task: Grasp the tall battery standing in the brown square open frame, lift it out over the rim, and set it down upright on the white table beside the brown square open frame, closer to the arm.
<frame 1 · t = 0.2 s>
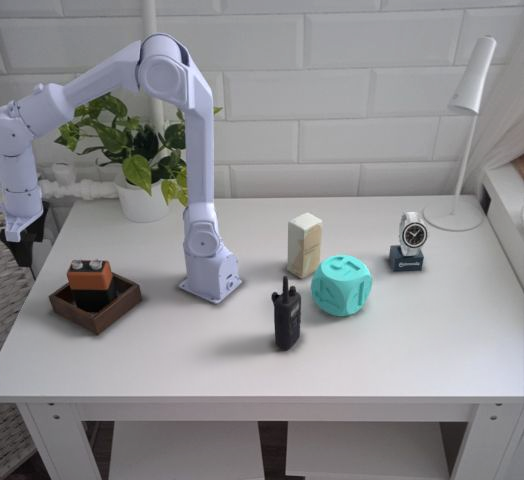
hand: (31, 253, 110), 11 cm above the table, tool pointing down, fingers open, 7 cm apart
decorative dice: (339, 303, 114), on the table
battery: (98, 306, 115), resting in brown square open frame
box: (303, 269, 122), on the table
two-way radio: (284, 341, 108), on the table
brown square open frame: (98, 306, 115), on the table
watch: (405, 265, 122), on the table
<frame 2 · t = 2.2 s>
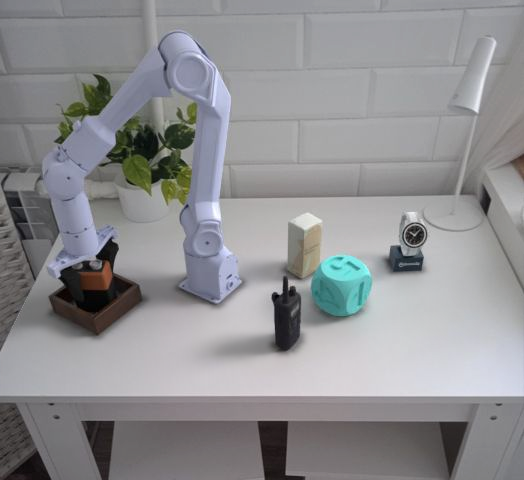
hand: (93, 288, 112), 4 cm above the table, tool pointing down, fingers closed on battery, 6 cm apart
battery: (98, 307, 115), resting in brown square open frame, touching gripper
everything else where it was.
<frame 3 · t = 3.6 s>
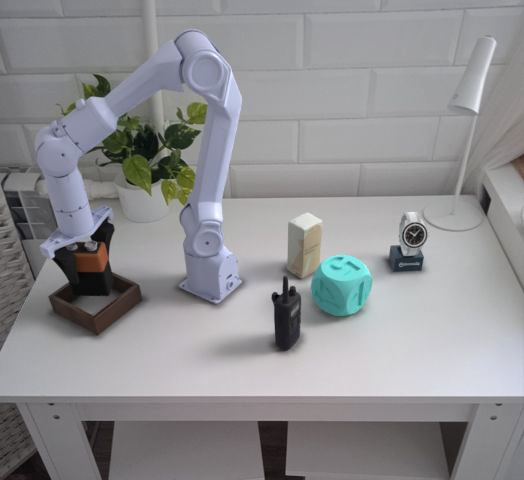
hand: (89, 270, 110), 8 cm above the table, tool pointing down, fingers closed on battery, 6 cm apart
battery: (94, 290, 113), point 4 cm above the table, touching gripper
everything else where it was.
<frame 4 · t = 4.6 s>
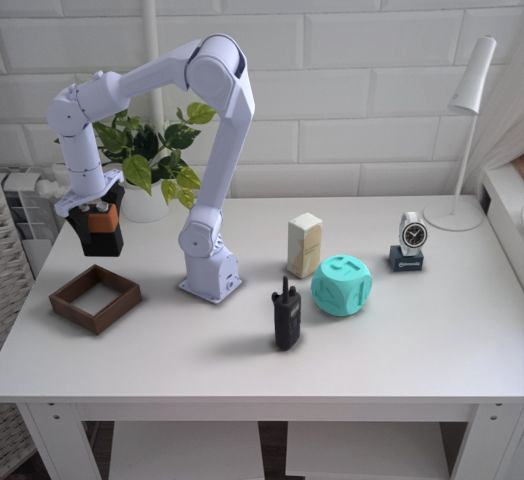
hand: (100, 232, 114), 10 cm above the table, tool pointing down, fingers closed on battery, 6 cm apart
battery: (104, 252, 117), point 6 cm above the table, touching gripper
everything else where it was.
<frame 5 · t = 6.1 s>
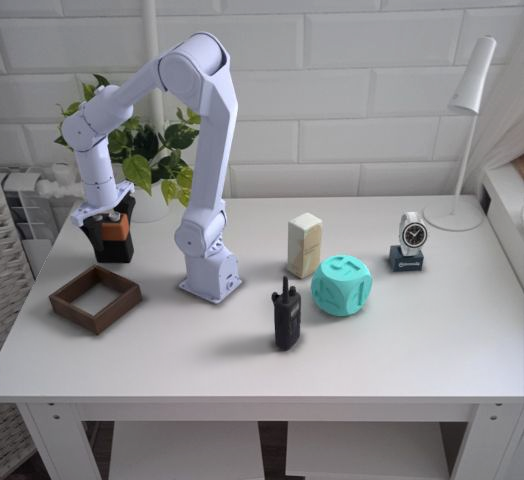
hand: (112, 240, 121), 5 cm above the table, tool pointing down, fingers closed on battery, 6 cm apart
battery: (116, 258, 124), point 1 cm above the table, touching gripper
everything else where it was.
when the fingers open (4 cm above the table, at t = 7.2 s): battery stays where it is, on the table.
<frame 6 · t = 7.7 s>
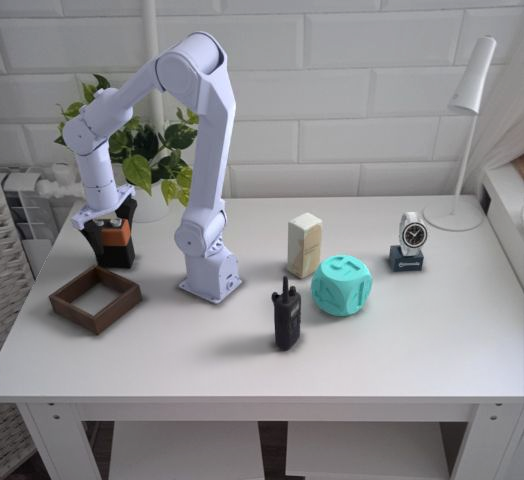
hand: (112, 243, 121), 5 cm above the table, tool pointing down, fingers open, 7 cm apart
battery: (117, 263, 125), on the table
everything else where it was.
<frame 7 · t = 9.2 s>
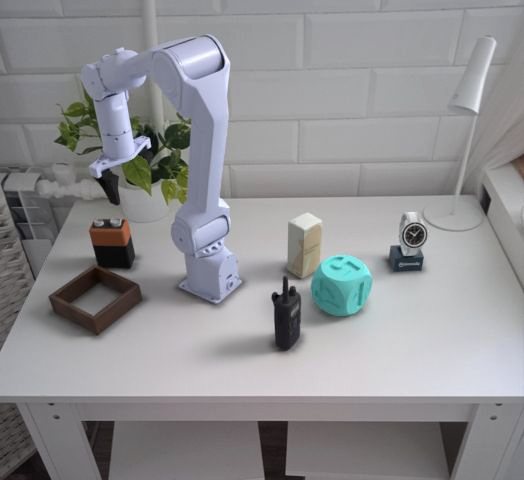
hand: (128, 194, 124), 10 cm above the table, tool pointing down, fingers open, 7 cm apart
nothing on the table moved.
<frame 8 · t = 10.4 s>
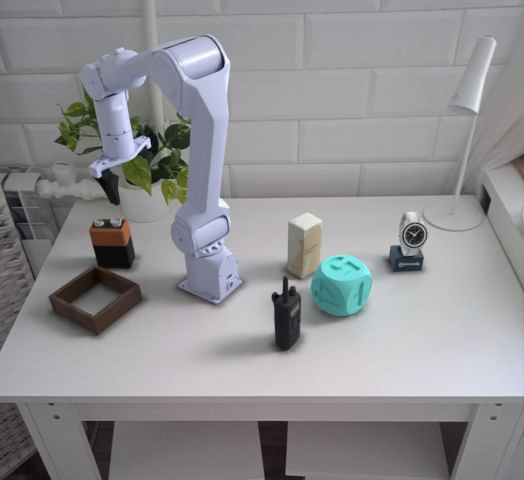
hand: (128, 194, 124), 10 cm above the table, tool pointing down, fingers open, 7 cm apart
nothing on the table moved.
at the end: battery 0.0 cm from the target spot, on the table; battery tilted 0°; the gripper is holding nothing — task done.
